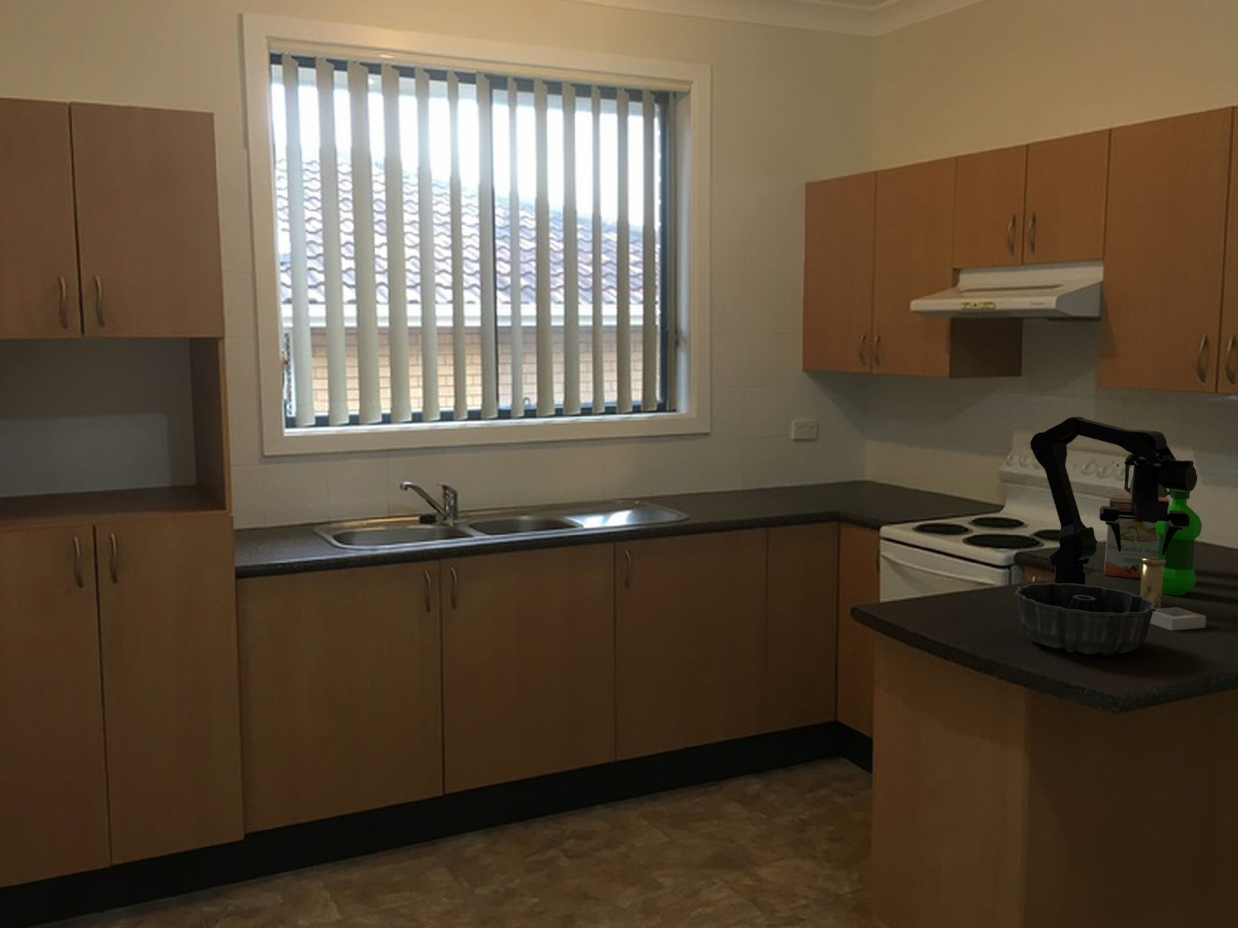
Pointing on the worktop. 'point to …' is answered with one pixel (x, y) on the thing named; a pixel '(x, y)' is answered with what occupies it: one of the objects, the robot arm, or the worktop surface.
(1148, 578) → the gold cylinder
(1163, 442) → the robot arm
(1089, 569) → the worktop surface
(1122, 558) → the cracker box
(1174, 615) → the frame
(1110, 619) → the bundt pan
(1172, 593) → the plastic bottle
